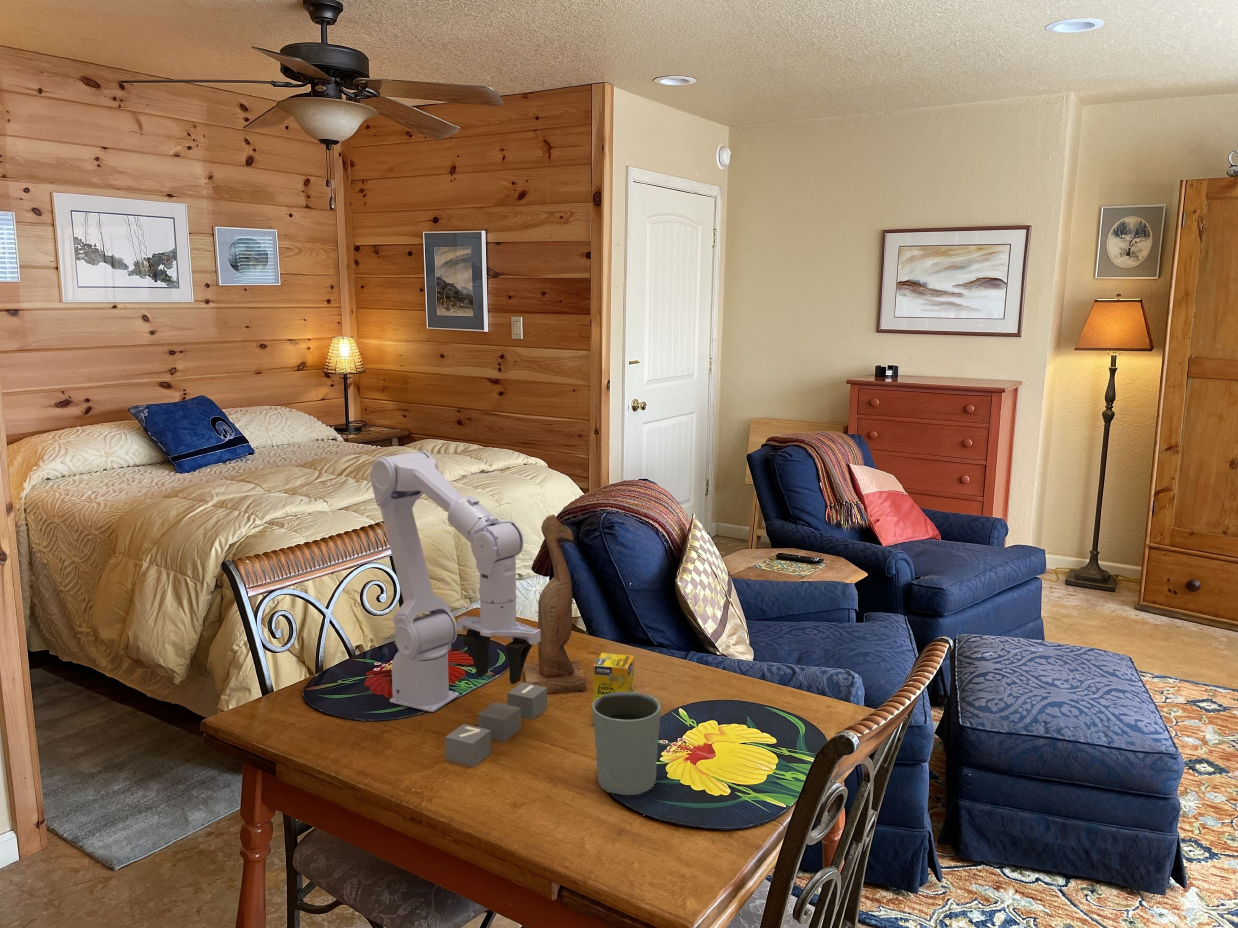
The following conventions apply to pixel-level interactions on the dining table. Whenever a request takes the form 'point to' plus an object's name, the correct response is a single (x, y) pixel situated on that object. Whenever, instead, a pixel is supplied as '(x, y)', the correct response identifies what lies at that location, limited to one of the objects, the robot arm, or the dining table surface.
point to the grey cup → (626, 741)
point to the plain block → (500, 721)
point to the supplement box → (612, 674)
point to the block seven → (468, 745)
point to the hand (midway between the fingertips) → (499, 678)
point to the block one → (528, 699)
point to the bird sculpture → (556, 621)
